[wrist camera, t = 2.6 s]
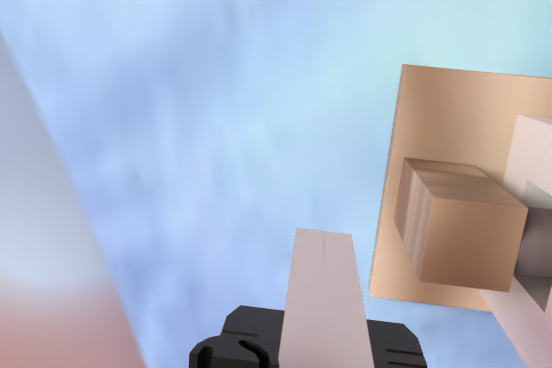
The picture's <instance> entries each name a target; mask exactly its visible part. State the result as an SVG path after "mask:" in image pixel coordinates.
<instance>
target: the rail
mask: <svg viewBox="0 0 552 368" xmlns="http://www.w3.org/2000/svg"><path fill="white" fill-rule="evenodd" d="M518 114H519V115H529V116H539V117H549V118H552V79H551V78H541V77H530V76H520V75H509V74H499V73H488V72H478V71H467V70H457V69H447V68H436V67H426V66H415V65H405V64H402V71H401V77H400V84H399V90H398V97H397V103H396V110H395V117H394V123H393V130H392V136H391V143H390V149H389V156H388V163H387V169H386V176H385V182H384V189H383V196H382V202H381V209H380V215H379V222H378V228H377V235H376V242H375V248H374V255H373V261H372V268H371V274H370V281H369V290H370V295H371V297H375V298H383V299H391V300H399V301H407V302H416V303H424V304H432V305H440V306H448V307H456V308H464V309H472V310H480V311H488V312H491V310H490V309H489V307H488V306H487V304H486V302H485V301H484V299H483V298H482V296H481V295H480V293H479V291H480V289H484V290H492V291H501V292H509V290H510V286H511V282H512V277H513V274H519V275H528V276H536V277H544V278H552V209H545V208H536V207H527V206H525V205H524V204H522V203H521V202H520V201H519V200H517V199H516V198H515V197H513V196H512V195H511V194H509V193H508V192H507V191H506V190H504V189H503V188H502V184H503V180H504V175H505V170H506V166H507V161H508V156H509V152H510V147H511V142H512V138H513V133H514V129H515V124H516V119H517V115H518Z"/></svg>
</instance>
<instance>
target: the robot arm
mask: <svg viewBox="0 0 552 368" xmlns="http://www.w3.org/2000/svg"><path fill="white" fill-rule="evenodd" d="M189 368H427V364H426V361H425V358H424V356H423V352H422V349H421V346H420V343H419V341H418V338H417V337H416V336H415V335H414V334H413V333H412V332H411V331H410V330H409V329H408V328H407V327H406V326H405V325H404V324H399V323H391V322H383V321H375V320H367V319H366V316H365V310H364V305H363V299H362V293H361V287H360V281H359V276H358V270H357V264H356V258H355V252H354V247H353V241H352V235H351V234H343V233H334V232H326V231H317V230H308V229H300V228H296V235H295V242H294V249H293V256H292V264H291V271H290V278H289V285H288V292H287V300H286V307H285V311H282V310H274V309H266V308H258V307H250V306H242V305H241V306H239V307H238V308H237V309H235V310H234V311H233V312H231V313H230V314H229V315H228V316H227V318H226V320H225V323H224V326H223V329H222V332H221V334H220V335H219V336H215V337H210V338H208V339H206V340H204V341H202V342H200V343H198V344H197V345H196V346H195V347H194V348H193V349H192V351H191V352H190V354H189Z"/></svg>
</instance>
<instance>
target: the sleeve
mask: <svg viewBox="0 0 552 368" xmlns="http://www.w3.org/2000/svg"><path fill="white" fill-rule="evenodd" d="M502 188H503V189H504V190H506V191H507V192H508V193H509V194H511V195H512V196H513V197H515V198H516V199H517V200H519V201H520V202H521V203H522V204H524V205H525V206H527V207H536V208H545V209H552V118H549V117H539V116H529V115H519V114H518V115H517V119H516V124H515V129H514V133H513V138H512V142H511V147H510V152H509V156H508V161H507V166H506V170H505V175H504V180H503V184H502ZM479 293H480V295H481V296H482V298H483V299H484V301H485V302H486V304H487V306H488V307H489V309H490V310H491V312H492V313H493V315H494V316H495V318H496V320H497V321H498V323H499V324H500V326H501V327H502V329H503V330H504V332H505V333H506V335H507V337H508V338H509V340H510V341H511V343H512V344H513V346H514V347H515V349H516V351H517V352H518V354H519V355H520V357H521V358H522V360H523V361H524V363H525V365H526V366H527V368H552V278H544V277H536V276H528V275H519V274H513V277H512V282H511V286H510V290H509V292H501V291H492V290H484V289H480V291H479Z"/></svg>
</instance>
